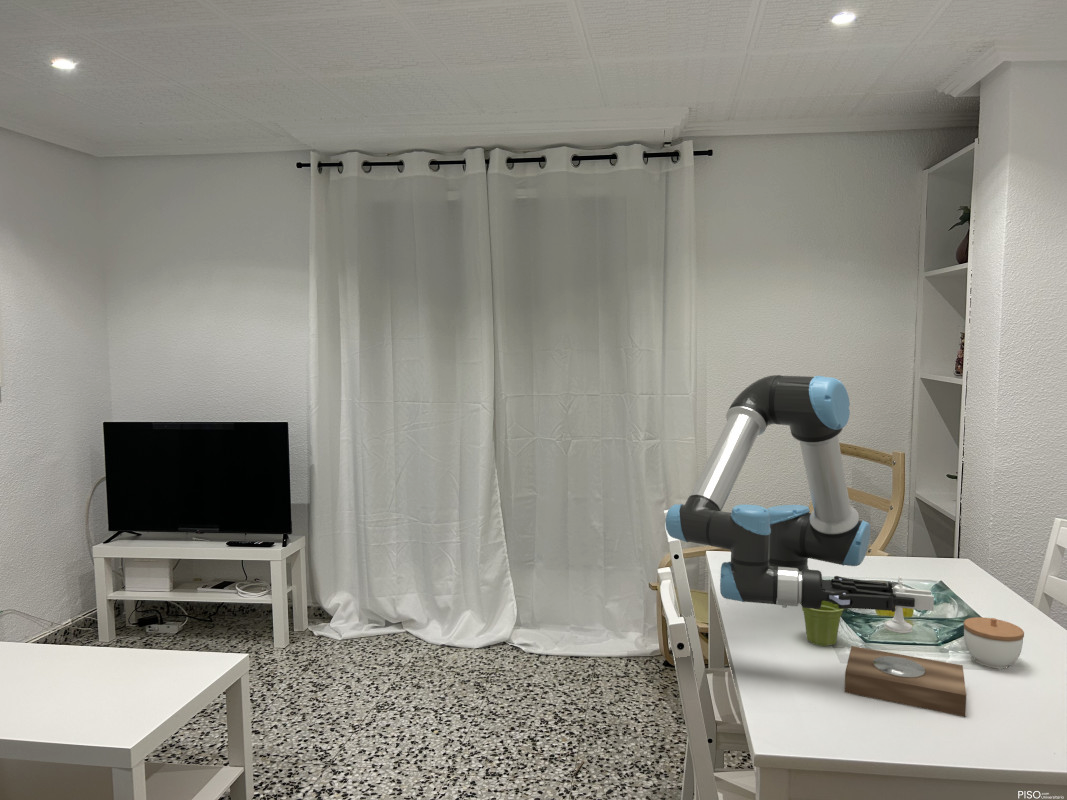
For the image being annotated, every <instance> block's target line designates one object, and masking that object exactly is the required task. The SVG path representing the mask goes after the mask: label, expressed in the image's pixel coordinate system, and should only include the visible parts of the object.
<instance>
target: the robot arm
mask: <svg viewBox="0 0 1067 800" xmlns="http://www.w3.org/2000/svg"><path fill="white" fill-rule="evenodd" d="M850 403H851V402H850V397H849V393H848V390H847V388H846V387H845V385H844V383H843V382H842V381H841V380H839V379H837V378H835V377H830V376H829V377H827V376H823V375H815V376H804V375H803V376H801V375H799V376H798V375H781V374H779V375H777V374H774V375H773V374H772V375H767V376H765V377H762V378H759V379H758V380H756V381H754V382H753V383H751V384H750V385H748V386H747V387H746V388H745V389H743V390H742V391H741V392H740V393H739V394H738V395H737V396H736V398H734V400H733V401H732V403H731V404H730V406H729V408H728V409H727V411H726V414H725V418H726V423H725V425H724V427H723V429H722V431H721V433H720V435H719V437H718V439H717V441H716V443H715V445H714V447H713V448H712V451H711V453H710V455H709V456H708V459H707V460H706V462H705V465H704V467H703V469H702V471H701V472H700V474H699V477H698V478H697V480H696V482H695V484H694V487H693V489H692V490H691V492H690V495H689V496H688V497H687V499H686V502H685V504H683V503H680V504H678V503H676V504H673V505H672V506H670V507H669V509H668V510H667V512H666V515H665V524H664V526H665V530H666V532H667V535H669V537H670V538H672V539H676V540H679V541H682V542H686V543H694V544H700V545H705V546H711V547H715V548H718V549H719V548H721V549H723V550H724V549H725V550H730V561H727V562H726V561H725V562H723V563H722V564H721V566H720V577H719V581H720V582H719V583H720V584H719V590H720V595H721V596H722V597H723V598H724V599H726V600H731V601H737V602H742V603H756V604H766V605H767V604H768V605H775V606H776V605H777V606H781V608H783V609H786V608H788V607H796V608H797V607H798V606H799V605H800V606H801V608H802V607H803V608H811V609H820V608H821V604H822V601H827V602H832V603H833V604H838V608H840V609H844V610H845V609H857V610H874V611H889V612H893V613H895V609H896V607H901V608H902V609H913V610H920V611H921V610H923V611H934V610H935V609H934V607H935V606H934V605H935V604H934V603H935V596H934V595H932V591H931V590H926V589H925V590H924V589H914V588H906V590H905V592H904V593H902V592H895V589H894V587H893V583H892V582H880V581H879V582H878V581H872V580H871V581H870V580H865V579H855V578H847V577H845V576H844V577H842V576H838V575H834V576H833V578H831V579H823V574H822V571H821V570H818V569H809V565H808V562H809V561H808V559H812V560H816V561H821V562H826V563H831V564H834V565H840V566H849V567H857V566H860V565H861V564H862V562H863V561H864V560H865V557H866V554H867V553H868V549H869V543H870V538H871V525H870V523H869V522H868V521H866V520H864V519H862V520H860V516H859V515H860V514H859V513H858V510H857V509H856V508H854V507H853V506H852V505H851V504H850V503H851V502H850V497H849V491H848V486H847V485H848V484H847V478H846V475H845V474H846V473H845V469H844V463H843V457H842V452H841V445H840V441H839V436H840V434H841V433H842V431H843V430H844V428H845V427H846V426H847V425H848V422H849V419H850V414H851V413H850V411H851V410H850V405H851V404H850ZM771 425H782V426H788V427H789V430H790V435H791V437H793V439H794V440H796V441H798V442H799V444H800V445H799V446H800V449H801V450H800V451H801V453H802V459H803V462H804V463H803V464H804V469H805V475H806V479H807V482H808V483H807V484H808V488H809V493H810V497H811V503H812V507H813V510H812V511H811V510H810V507H809V506H807V505H803V504H783V505H774V506H771V507H770V506H769V507H768V508H766V507H765V506H761V505H758V504H756V505H755V504H747V503H745V504H743V503H742V504H737V505H735V506H733V507H732V508H731V512H728V511H723V508H724V507H725V504H726V502H727V500H728V498H729V495H730V494H731V491H732V489H733V487H734V485H735V483H736V481H737V479H738V477H739V475H740V473H741V471H742V469H743V466H744V465H745V462H746V460H747V458H748V456H749V454H750V452H751V450H752V447H753V446H754V443H755V442H756V440H757V438H758V436H760V435H762V434H764V433H765V431H766V429H767V427H768V426H771ZM810 512H811V513H810Z"/></svg>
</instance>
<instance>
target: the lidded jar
mask: <svg viewBox="0 0 1067 800" xmlns="http://www.w3.org/2000/svg"><path fill="white" fill-rule="evenodd" d="M1024 637H1025V631H1024V630H1023V629H1022V628H1021V627H1020V626H1018V625H1016V624H1014V623H1011V622H1009V621H1006V620H1002V619H997V618H995V617H982V616H980V617H977V616H976V617H968V618H966V619H964V620H963V638H964V643H965V646H966V647H965V648H966V650H967V651H968V653H969V654H970V656H972V657H973V658H974V661H975V662H976V663H978V664H980V665H982V666H984V667H988V668H990V669H991V668H993V669H999V668H1003V669H1007V668H1009V667H1008V666H1010V665H1012V664H1014V663H1015V662H1017V660H1018V659H1019V658H1020V657H1021V656H1020V655H1021V653H1022V649H1023V645H1024V644H1023V643H1024ZM1006 667H1007V668H1006ZM999 670H1000V669H999Z"/></svg>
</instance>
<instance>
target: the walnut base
mask: <svg viewBox="0 0 1067 800" xmlns="http://www.w3.org/2000/svg"><path fill="white" fill-rule="evenodd" d="M846 663H847V664H846V667H845V671H844V693H846V694H850V695H856V696H861V697H866V698H869V699H874V700H881V701H885V702H890V703H896V704H900V705H905V706H909V707H914V708H920V709H924V710H930V711H934V712H938V713H939V712H940V713H944V714H949V715H955V716H959V717H962V718H963V717H966V711H967V709H966V708H967V689H966V681H965V673H964V665H963V664H957V663H952V662H947V661H940V660H935V659H929V658H925V657H924V658H922V657H918V656H911V655H905V654H900V653H896V652H895V653H894V652H888V651H882V650H879V649H878V650H877V649H872V648H866V647H860V646H854V645H851V647H850V650H849V655H848V659H847V662H846Z"/></svg>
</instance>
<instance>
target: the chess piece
mask: <svg viewBox="0 0 1067 800" xmlns="http://www.w3.org/2000/svg"><path fill="white" fill-rule="evenodd" d="M897 582H898V584H897V585H894V589H895V592H902V593H904V592H905V590H906V589H907V587H905V586H903V585H902V584H903V578H902V576H898V579H897ZM903 610H904V608H901V607H895V612H894V615H893V617H892V618H891V619H888V620H885V622H884V625H883V626H884V628H885V629H886V630H889V631H891V632H895V633H901V634H909V633H912V632H913V631H914V630H913V625H912V624H911V623H909V622H907V621H906V620H905V619H904V611H903Z"/></svg>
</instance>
